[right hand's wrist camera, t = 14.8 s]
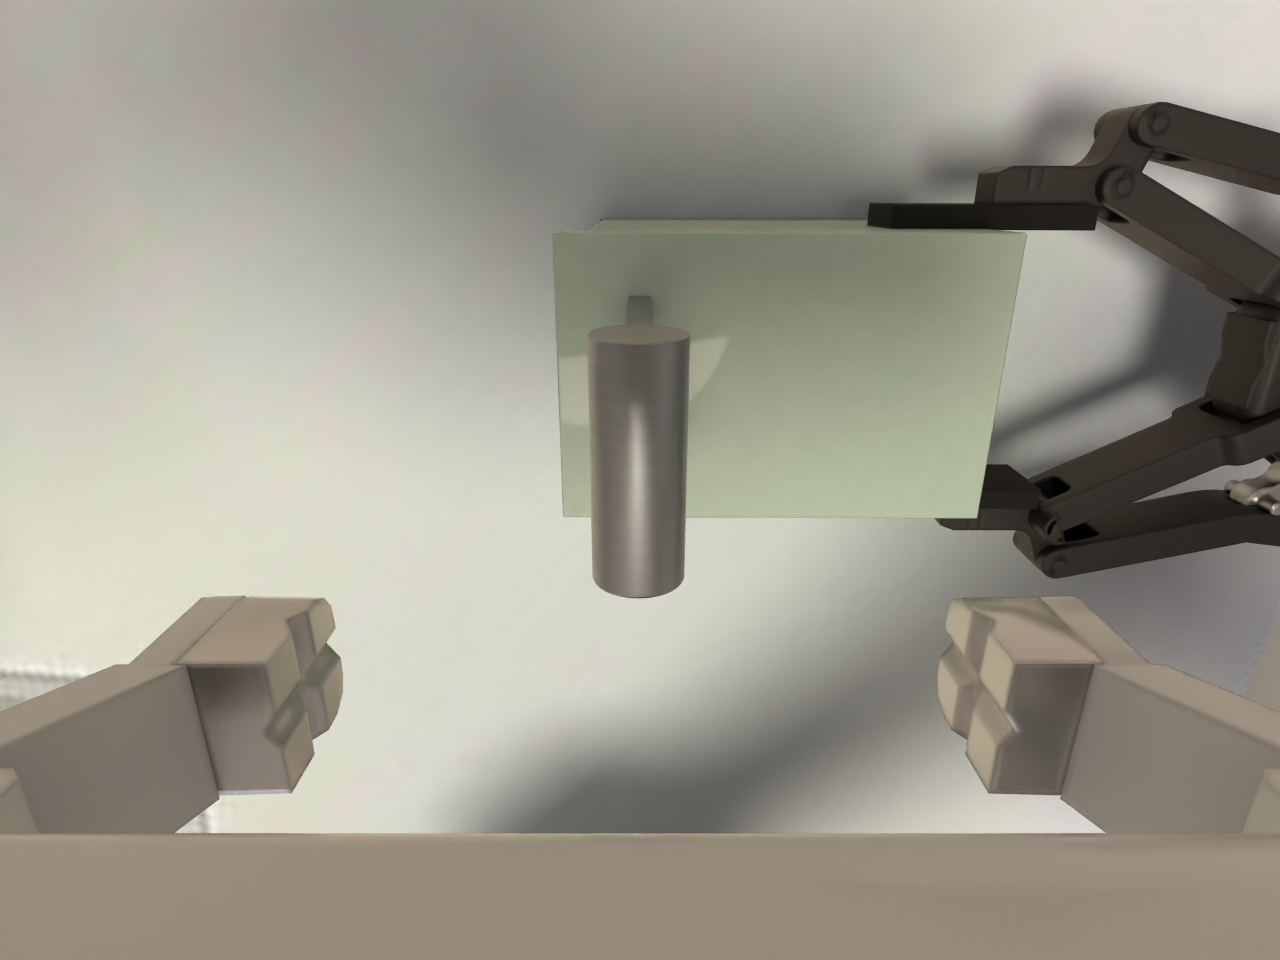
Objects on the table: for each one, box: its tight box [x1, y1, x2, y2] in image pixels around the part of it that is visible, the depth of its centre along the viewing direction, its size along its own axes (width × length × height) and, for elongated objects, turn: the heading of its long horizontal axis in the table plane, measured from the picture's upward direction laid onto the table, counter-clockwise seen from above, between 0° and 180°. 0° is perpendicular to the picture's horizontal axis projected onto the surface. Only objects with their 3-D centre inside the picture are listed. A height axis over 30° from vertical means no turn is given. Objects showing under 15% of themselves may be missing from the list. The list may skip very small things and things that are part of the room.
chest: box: [589, 219, 1001, 231], centre depth 29 cm, size 13×9×9 cm
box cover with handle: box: [553, 230, 1027, 598], centre depth 20 cm, size 14×9×9 cm, turn 90°
